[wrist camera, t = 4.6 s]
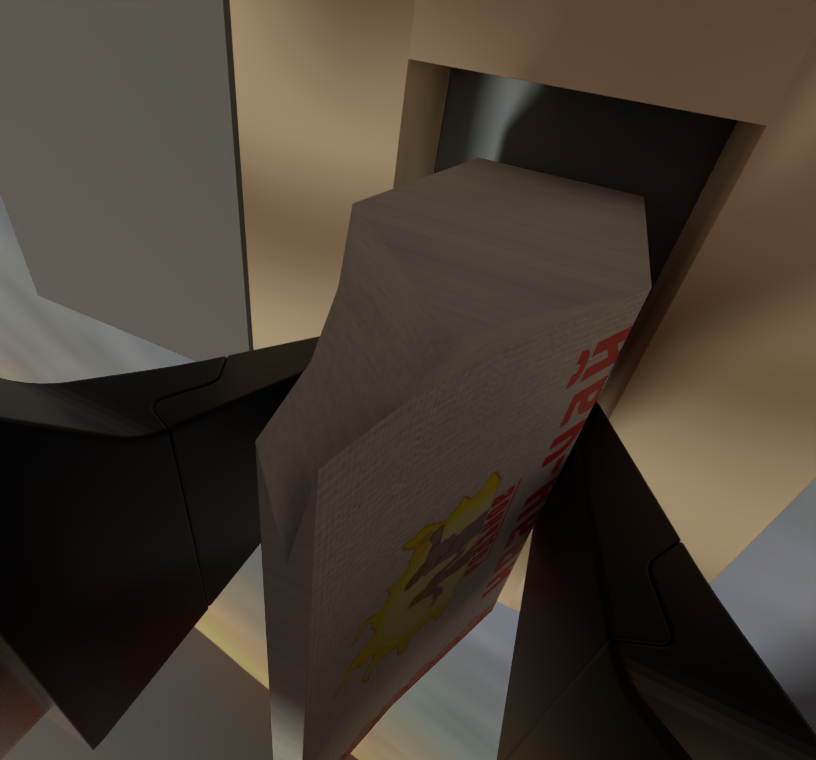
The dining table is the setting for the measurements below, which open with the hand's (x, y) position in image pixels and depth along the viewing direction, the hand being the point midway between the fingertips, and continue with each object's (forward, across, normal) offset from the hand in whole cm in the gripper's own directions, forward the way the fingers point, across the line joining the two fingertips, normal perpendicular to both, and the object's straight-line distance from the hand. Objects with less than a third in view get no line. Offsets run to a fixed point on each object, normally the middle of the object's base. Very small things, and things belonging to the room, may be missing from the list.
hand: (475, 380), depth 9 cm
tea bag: (+4, 0, 0) cm, 4 cm away
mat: (+4, +15, 0) cm, 16 cm away
